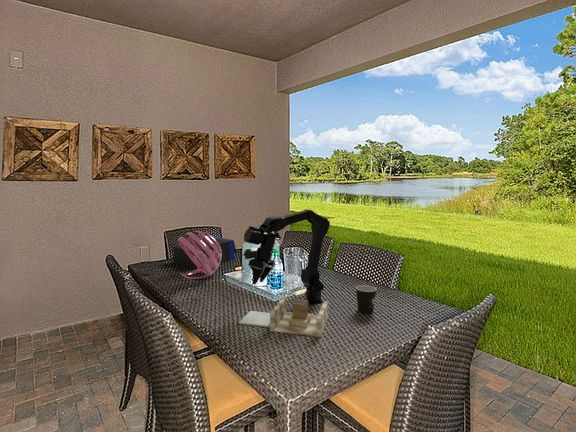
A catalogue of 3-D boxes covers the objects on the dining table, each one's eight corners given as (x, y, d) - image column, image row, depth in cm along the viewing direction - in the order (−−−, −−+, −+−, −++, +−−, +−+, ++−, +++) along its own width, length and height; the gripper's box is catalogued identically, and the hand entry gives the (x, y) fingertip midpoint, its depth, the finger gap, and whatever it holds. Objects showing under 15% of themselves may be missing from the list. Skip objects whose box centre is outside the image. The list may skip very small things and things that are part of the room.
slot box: (283, 312, 147) (283, 297, 146) (328, 317, 142) (328, 301, 141) (270, 331, 130) (270, 313, 129) (320, 337, 125) (320, 318, 124)
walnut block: (295, 313, 139) (295, 299, 138) (307, 314, 137) (308, 300, 137) (292, 318, 134) (292, 303, 133) (305, 319, 133) (305, 304, 132)
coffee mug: (364, 316, 143) (364, 293, 142) (351, 309, 151) (351, 287, 150) (385, 311, 149) (386, 288, 148) (371, 304, 156) (372, 283, 155)
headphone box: (237, 259, 243) (237, 239, 241) (195, 269, 216) (194, 247, 215) (215, 254, 259) (214, 235, 257) (173, 263, 232) (172, 242, 230)
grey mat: (250, 312, 148) (250, 310, 148) (277, 315, 145) (277, 313, 145) (239, 323, 136) (239, 322, 136) (268, 327, 133) (268, 325, 133)
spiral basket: (162, 250, 179) (203, 218, 190) (160, 252, 205) (196, 224, 215) (197, 291, 183) (235, 257, 194) (190, 288, 209) (224, 258, 219)
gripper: (256, 242, 156) (247, 276, 155) (241, 241, 138) (231, 279, 137) (279, 248, 153) (270, 283, 152) (267, 248, 135) (257, 287, 134)
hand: (257, 283), depth 144 cm, fingers open, 9 cm apart
